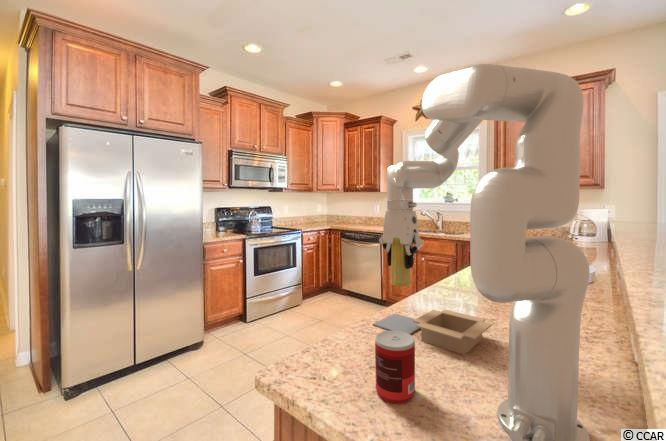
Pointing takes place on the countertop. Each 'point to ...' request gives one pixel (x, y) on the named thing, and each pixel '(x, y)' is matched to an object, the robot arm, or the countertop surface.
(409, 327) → the mat
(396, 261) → the vase
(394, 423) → the countertop surface
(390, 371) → the canned food
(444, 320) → the carton
